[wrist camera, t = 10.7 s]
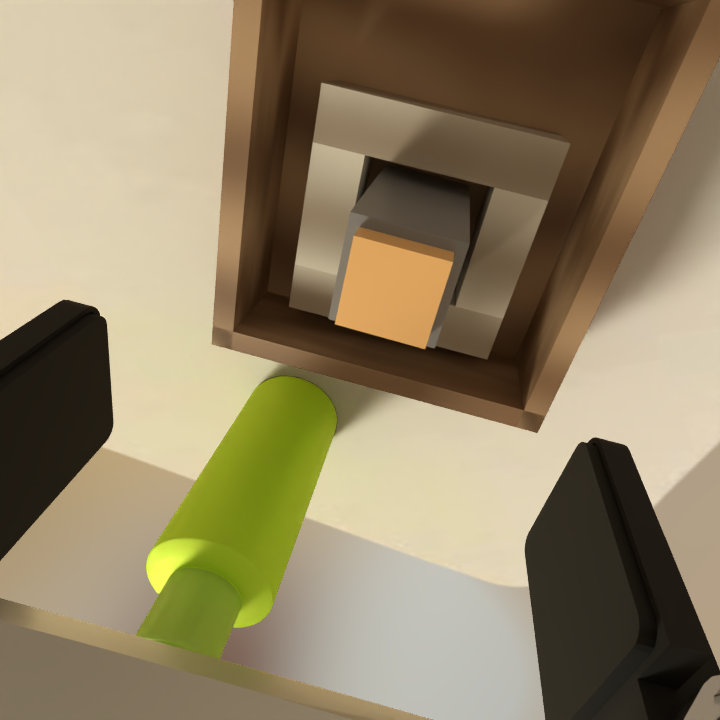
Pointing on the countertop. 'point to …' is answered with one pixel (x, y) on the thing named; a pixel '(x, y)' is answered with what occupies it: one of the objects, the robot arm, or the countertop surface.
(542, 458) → the countertop surface
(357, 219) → the plug
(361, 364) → the crate
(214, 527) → the soap dispenser
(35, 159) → the countertop surface
